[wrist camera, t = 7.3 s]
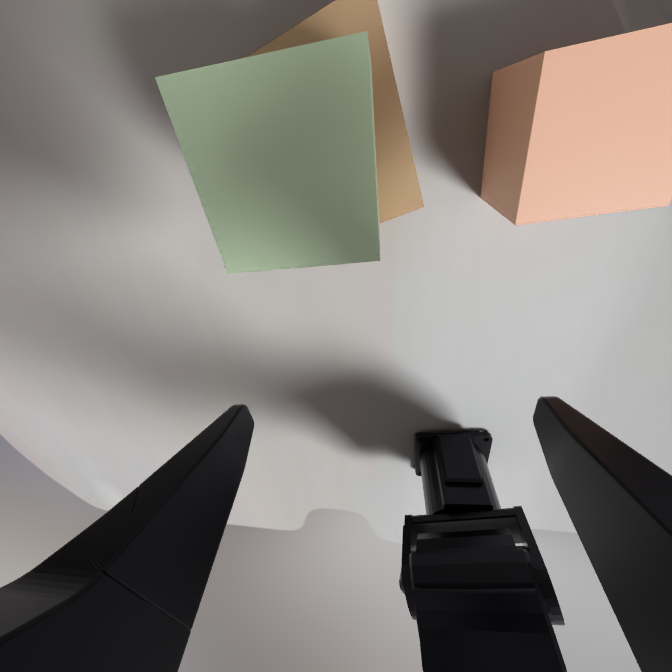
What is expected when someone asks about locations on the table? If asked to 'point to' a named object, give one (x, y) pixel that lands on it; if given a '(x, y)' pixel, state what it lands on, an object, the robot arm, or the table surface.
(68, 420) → the table surface
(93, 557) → the robot arm
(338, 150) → the sage block
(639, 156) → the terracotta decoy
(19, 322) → the table surface
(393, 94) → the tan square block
